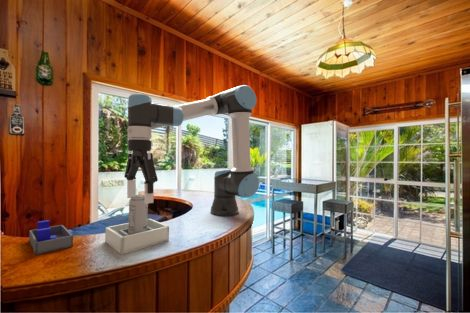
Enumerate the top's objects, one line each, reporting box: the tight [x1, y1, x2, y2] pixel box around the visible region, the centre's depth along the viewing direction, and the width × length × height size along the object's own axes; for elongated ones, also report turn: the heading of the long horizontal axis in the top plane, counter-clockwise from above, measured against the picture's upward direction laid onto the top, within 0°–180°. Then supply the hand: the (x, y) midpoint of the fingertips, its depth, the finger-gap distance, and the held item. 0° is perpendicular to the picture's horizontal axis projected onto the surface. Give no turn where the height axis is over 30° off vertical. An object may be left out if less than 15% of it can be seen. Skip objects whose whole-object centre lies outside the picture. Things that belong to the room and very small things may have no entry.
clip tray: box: [28, 224, 74, 256], centre depth 73 cm, size 9×16×4 cm, turn 48°
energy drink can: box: [128, 194, 149, 235], centre depth 77 cm, size 6×6×15 cm
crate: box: [104, 218, 170, 255], centre depth 77 cm, size 16×14×5 cm
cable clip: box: [37, 219, 56, 242], centre depth 72 cm, size 12×4×6 cm, turn 42°
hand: (139, 200), depth 77 cm, fingers open, 13 cm apart
